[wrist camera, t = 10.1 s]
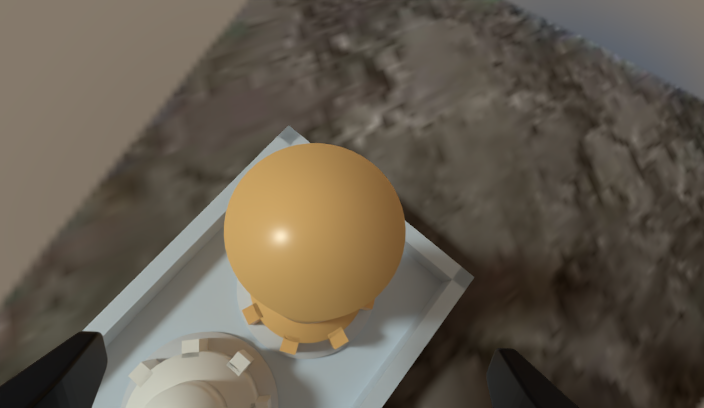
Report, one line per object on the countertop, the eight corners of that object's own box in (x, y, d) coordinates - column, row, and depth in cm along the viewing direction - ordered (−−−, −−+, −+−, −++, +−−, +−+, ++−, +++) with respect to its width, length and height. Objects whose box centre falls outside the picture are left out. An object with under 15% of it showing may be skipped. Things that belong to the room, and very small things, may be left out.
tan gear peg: (351, 368, 20) (433, 437, 8) (224, 332, 20) (95, 341, 7) (383, 244, 22) (490, 136, 9) (267, 209, 22) (221, 53, 9)
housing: (218, 612, 18) (188, 712, 13) (20, 419, 19) (-71, 449, 14) (456, 282, 23) (495, 271, 18) (289, 145, 24) (287, 101, 20)
